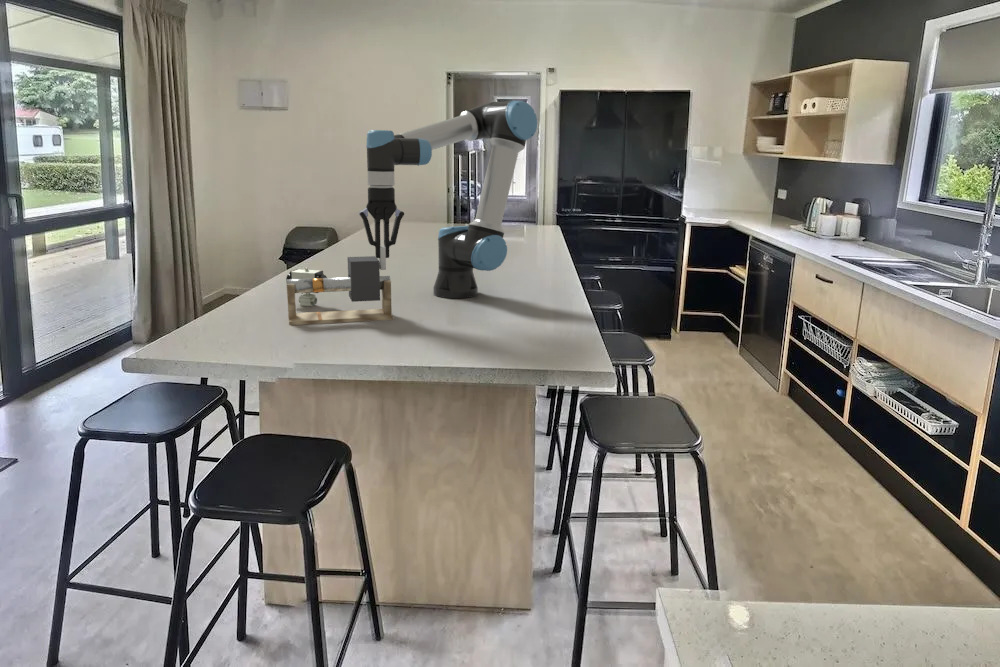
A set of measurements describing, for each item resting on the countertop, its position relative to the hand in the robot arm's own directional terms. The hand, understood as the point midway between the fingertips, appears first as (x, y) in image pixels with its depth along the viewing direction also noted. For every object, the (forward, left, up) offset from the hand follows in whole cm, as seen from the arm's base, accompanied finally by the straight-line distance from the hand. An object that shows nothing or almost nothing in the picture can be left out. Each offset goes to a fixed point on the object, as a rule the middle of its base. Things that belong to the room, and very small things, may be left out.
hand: (382, 269), depth 208 cm
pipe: (+13, 0, -6) cm, 14 cm away
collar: (+6, 0, -8) cm, 10 cm away
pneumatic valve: (+21, -19, -14) cm, 32 cm away
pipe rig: (+13, 0, -14) cm, 19 cm away
